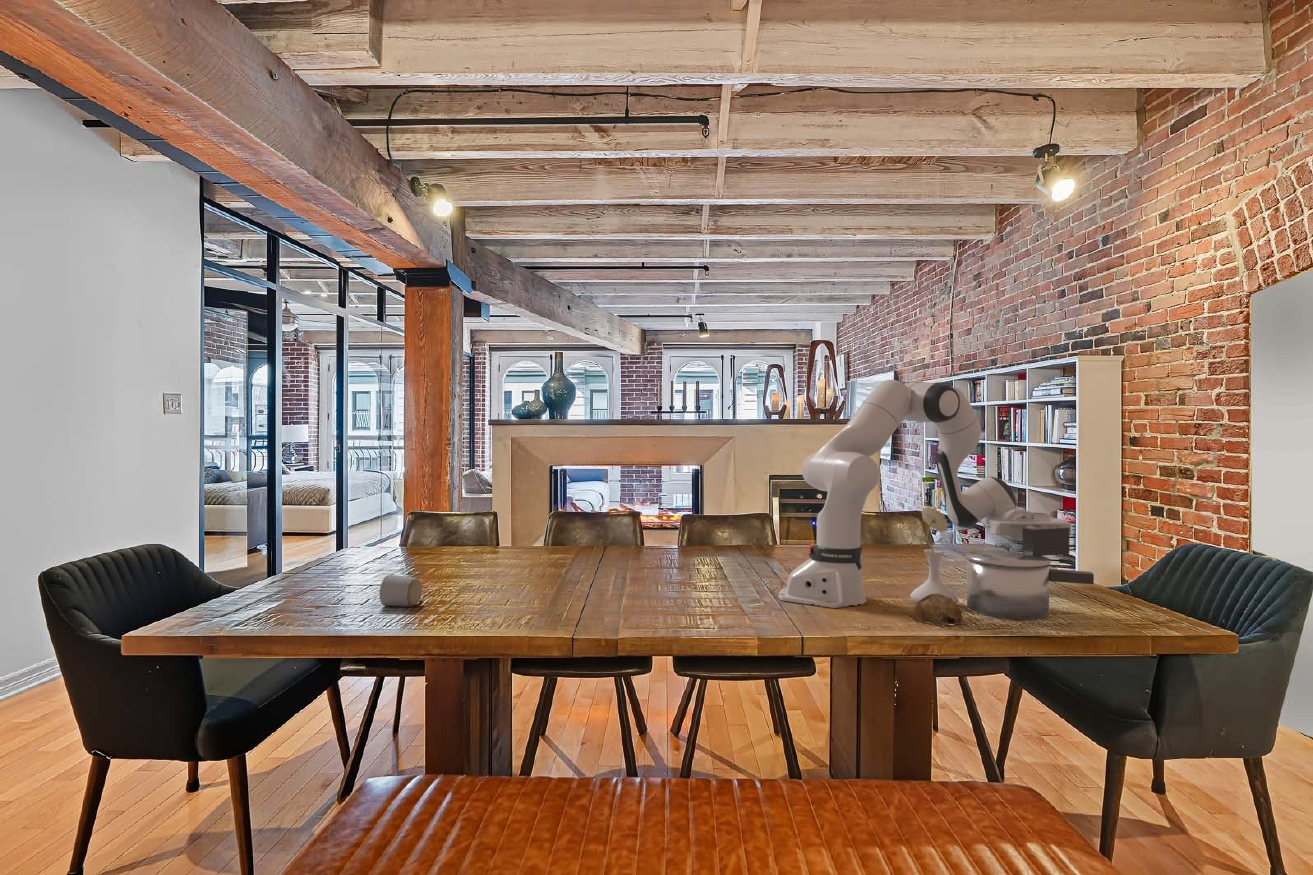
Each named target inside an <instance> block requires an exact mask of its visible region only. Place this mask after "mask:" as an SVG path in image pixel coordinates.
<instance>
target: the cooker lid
mask: <svg viewBox="0 0 1313 875" xmlns="http://www.w3.org/2000/svg"><path fill="white" fill-rule="evenodd" d="M1069 554H1070V536H1069V528H1068V527H1061V526H1054V527H1035V528H1023V541H1022V552H1021V551H1012V550H1011V551H1010V550H998V549H995V550H993V549H992V550H991V549H989V550H988V549H985V550H982V549H981V550H972V551H971V550H970V551H967V552H966V553H965V559H966V561H967V560H969V561H972V562H975V563H979V564H985V565H991V566H998V567H1009V568H1043V567H1048V566H1049V567H1050V566H1052V564H1051V561H1052V559H1050V558H1048V557H1047V556H1056V555H1057V556H1058V555H1059V556H1060V555H1069Z"/></svg>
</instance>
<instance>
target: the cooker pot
mask: <svg viewBox="0 0 1313 875" xmlns="http://www.w3.org/2000/svg"><path fill="white" fill-rule="evenodd" d="M1094 576H1095V574H1094V573H1093V572H1092V571H1084V570H1083V571H1082V570H1070V569H1069V570H1068V569H1058V568H1057V569H1055V568H1054V569H1052V568H1050V566H1048V567H1043V568H1009V567H998V566H991V565H985V564H979V563H975V562H972V561H969V560H967V559H966V608H967V607H968V608H969V609H971V610H973V611H975V612H977V613H976V614H978V613H981V614H984V615H983V616H985V615H986V616H985V617H989V616H990V617H991V618H995V619H1001V618H1004V619H1003V620H1009V619H1010V621H1029V622H1030V621H1041V620H1046V619H1048V618H1049V616H1050V582H1055V583H1056V582H1057V583H1068V584H1069V583H1070V584H1071V583H1072V584H1083V585H1085V584H1086V585H1095V584H1094V583H1095V582H1094V580H1095V577H1094ZM968 608H967V609H968ZM969 609H968V610H969ZM971 610H970V611H971ZM973 611H972V612H973ZM975 612H974V613H975ZM981 614H980V615H981Z"/></svg>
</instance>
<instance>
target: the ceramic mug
mask: <svg viewBox="0 0 1313 875" xmlns="http://www.w3.org/2000/svg"><path fill="white" fill-rule="evenodd" d="M381 581H382V582H381V584H380V586H379V601H380V604H381V605H383V606H385V607H405V608H407V607H409V608H410V607H414V606H417V604H418V603H419V601H420V600H421V598H422V591H423V590H422V589H423V585H422V583H421V581H420V579H419V578H416V577H412V576H405V575H404V576H403V575H396V574H387V575H386V576H385V577H384V578H383V580H381Z"/></svg>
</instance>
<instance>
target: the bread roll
mask: <svg viewBox="0 0 1313 875" xmlns="http://www.w3.org/2000/svg"><path fill="white" fill-rule="evenodd" d="M913 610H914V614H915V618H916V619H917V618H918V619H919V620H921V621H923V622H922V623H925V622H929V623H932V624H938V625H937V626H941V625H949V624H955V625H957V624H956V623H959V624H960V623H961V622H962V618H963V613H962V610H961V609H960V607H959V605H958V604H957V603H955V602H954V601H953V600H952V598H950V597H946V596H944V595H941V594H931V595H928V596H926V597H924V598H923V599H921V600H920V601H919V602H918V603H916V604H915V606H914V607H913ZM918 619H917V620H918ZM921 621H920V622H921ZM932 624H931V625H932ZM939 624H940V625H939Z"/></svg>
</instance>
